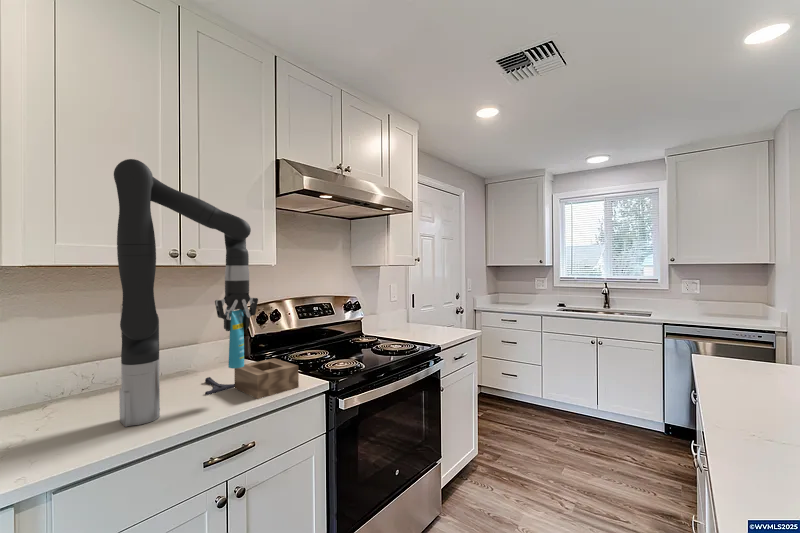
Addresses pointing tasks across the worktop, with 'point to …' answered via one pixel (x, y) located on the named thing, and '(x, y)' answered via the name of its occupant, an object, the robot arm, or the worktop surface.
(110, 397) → the worktop surface
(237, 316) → the tube
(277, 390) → the socket block
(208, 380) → the bracket
